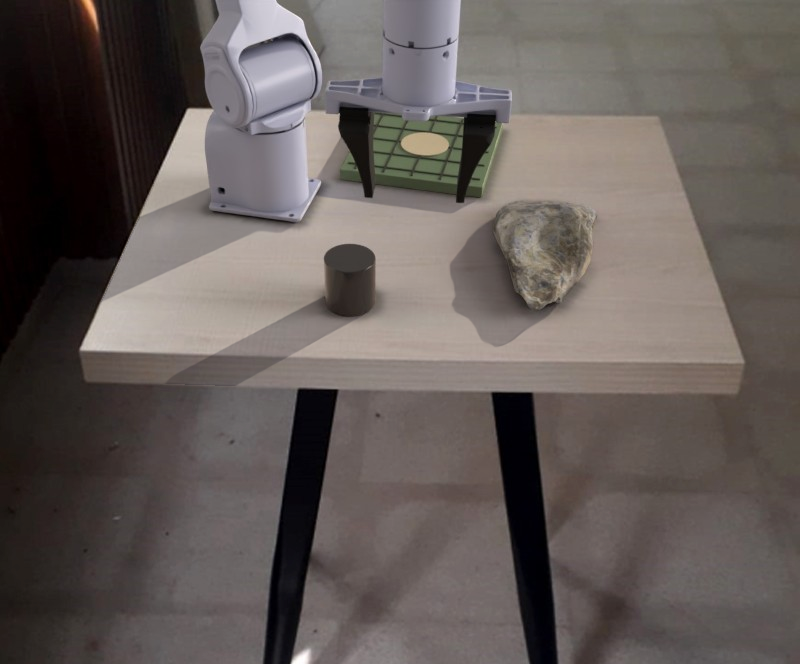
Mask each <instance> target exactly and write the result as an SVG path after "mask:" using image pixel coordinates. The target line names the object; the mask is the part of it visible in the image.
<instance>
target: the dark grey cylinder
mask: <svg viewBox="0 0 800 664" xmlns="http://www.w3.org/2000/svg"><path fill="white" fill-rule="evenodd" d="M376 259H377V258H376V254H375V253H374V252H373V250H372V249H370V248H369V247H367V246H365V245H362V244H357V243H344V244H343V243H342V244H338V245H335V246H333V247H331V248H329V249H328V250H327V251H326V252H325V253H324V256H323V272H324V273H323V275H324V298H325V305H326V307H327V309H328V310H330V311H331V312H332V313H334V314H336V315H339V316H343V317H356V316H361V315H365V314H367V313H368V312H370V311H371V310H372V309H373V308H374V307H375V306H376V280H377V279H376V275H377V273H376V271H377V270H376V267H377V266H376V264H377V263H376Z"/></svg>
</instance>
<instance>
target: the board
mask: <svg viewBox="0 0 800 664" xmlns="http://www.w3.org/2000/svg"><path fill="white" fill-rule="evenodd" d="M503 125H504V123H497V122H496V121H495V135H494V138H493V141H492V143H491V145H490V146H489V148H488V149H487V150H486V152H485V153H484V155H483V156H482V158H481V160H480V161H479V163H478V165H477V167H476V169H475V171H474V173H473V175H472V178H471V180H470V183H469V186H468V188H467V192H466V196H467V197H471V198H472V197H474V198H483V195H484V191H485V188H486V185H487V182H488V178H489V175H490V172H491V169H492V166H493V162H494V160H495V156H496V153H497V151H498V150H497V149H498V146H499V143H500V140H501V137H502V133H503ZM463 126H464V117H449V116H430V117H429V120H427V121H407V120H404V119H402V115H400V114H392V113H374V138H373V150H374V164H375V185H380V186H389V187H396V188H405V189H412V190H420V191H428V192H434V193H442V194H451V195H456V194H457V179H458V172H459V166H460V160H461V153H462V141H463ZM339 178H340V179H339V180H343V181H351V182H357V183H362V181H361V177H360V174H359V171H358V168H357V166H356V163H355V161H354V159H353V156H352V154H351V152H350V151H348V154H347V156H346V158H345V160H344V161H343V163H342V165H341V167H340V169H339ZM466 196H465V197H466Z"/></svg>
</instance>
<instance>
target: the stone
mask: <svg viewBox="0 0 800 664" xmlns="http://www.w3.org/2000/svg"><path fill="white" fill-rule="evenodd" d="M597 218H598V214H597V213H596V210H595V209H594V208H592V207H590V206H587V205H585V204H583V203H573V202H569V201H568V202H567V201H551V200H543V201H542V200H541V201H540V200H525V199H524V200H516V201H511V202H509V203H507V204H505V205H503V206H502V207H501V208H500V209H499V210H498V211H497V212H496V214H495V218H494V221H493V225H492V232H493V234H494V237H495V239H496V242H497V244H498V245H499V248H500V250H501V253H502V256H503V257H504V258H505V259H506V262H507V266H508V269H509V275H510V278H511V281H512V284H513V285H512V286H513V289H514V292H515V293H516V294H519V295H520V297H522V298H523V299H524V301H525V303H526V305H527V307H528V308H529V309H530V310H532V311H540V310H542V309H544V308H545V307H546V306H547V305H548V304H552V303H557V304H562V303H563V300H564V299H565V298H566V295H567V294H569V292H570V291H571V290H572V289H573V288H574V286H575V285H576V284H578V283H579V281H580V280H581V279H582V277H583V276H584V275H585V273H586V271H587V269H588V267H589V265H590V263H591V261H592V255H593V249H594V241H593V233H594V228H595V224H596V221H597Z"/></svg>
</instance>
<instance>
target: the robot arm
mask: <svg viewBox="0 0 800 664" xmlns="http://www.w3.org/2000/svg"><path fill="white" fill-rule="evenodd" d="M214 1H215V4H216V9H217V12H218V17H217V19H216V20H215V22H214V24H213V26H212V27H211V29H210V30H209V32H208V33H207V35H206V36H205V37H204V39H203V40H202V42H201V44H200V48H199V50H200V53H201V57H202V60H203V61H202V62H203V67H204V88H205V89H204V90H205V93H206V96H207V99H208V103H209V104H210V106H211V108H212V112H211V114H210V116H209V118H208V120H207V123H206V126H205V132H204V133H205V134H204V155H205V162H206V171H207V177H208V186H209V193H210V202H209V204H208V209H209V210H210V211H212V212H220V213H226V214H227V213H228V214H235V215H241V216H250V217H256V218H262V219H263V218H264V219H271V220H277V221H284V222H293V223H298V222H301V221H302V219H303V218H304V216H305V214H306V213H307V211H308V209H309V207H310V205H311V203H312V202H313V200H314V198H315V197H316V195H317V193H318V191H319V189H320V187H321V186H322V181H321V179H319V178H312V177H309V169H308V168H309V167H308V149H307V130H306V129H307V127H306V115H307V114H309V113H311V112H312V104H311V103H312V100H315V99H316V98H317V97H318V95H319V94H320V92H321V89H322V85H323V71H322V65H321V61H320V59H319V56H318V53H317V52H316V51H315V48H314V47H313V45H312V43H311V41H310V38H309V37H308V34H307V31H306V26H305V22H304V20H303V19H302V18H301V17H300V16H299V15H296V14H295V13H294V12H292V11H290V10H288V9H287V8H285V7H284V6H282V5H280V4H279V3H278V1H277V0H214ZM461 2H462V0H382V64H381V65H382V66H381V67H382V72H381V73H382V75H381V76H380V77H369V78H359V79H348V80H330V79H329V80H328V81H327V83H326V86H325V88H324V89H325V90H324V100H325V101H324V102H325V103H324V104H325V105H324V106H325V107H324V108H325V109H324V110H325V114H326V115H338V114H339V117H338V124H337V128H338V132H339V135H340V138H341V140H343V142H344V144H345V145H346V147H347V149H348V150H349V151H348V152H351V154H352V156H353V159H354V161H355V163H356V166H357V168H358V171H359V174H360V177H361V181H362V182H361V184H362V189H363V197H364V198H365V199H373V198H374V193H375V188H376V184H375V164H374V150H373V138H374V113H392V114H400V115H402V119H404V120H407V121H427V120H429V117H430V116H449V117H458V118H464V126H463V141H462V153H461V160H460V166H459V172H458V179H457V194H455V195H456V196H455V197H456V198H455V203H456V204H464V203H465V200H466V192H467V188H468V186H469V183H470V180H471V178H472V175H473V173H474V171H475V169H476V167H477V165H478V163H479V161H480V160H481V158H482V156H483V155H484V153H485V152H486V150H487V149H488V148H489V146H490V145H491V143H492V141H493V138H494V135H495V122H497V123H503V124H510V121H511V110H512V103H513V102H512V101H513V99H512V96H513V95H512V90H511V89H503V88H495V87H490V86H484V85H479V84H473V83H469V82H464V81H460V80H457V69H458V67H457V66H458V51H459V34H460V22H461V21H460V20H461V19H460V18H461V6H462V5H461V4H462V3H461ZM270 39H271V40H270ZM268 40H270V41H268ZM265 41H266V42H265ZM262 42H263V43H262ZM256 44H258V45H256ZM253 45H255V46H253ZM250 46H253V47H250Z"/></svg>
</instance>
